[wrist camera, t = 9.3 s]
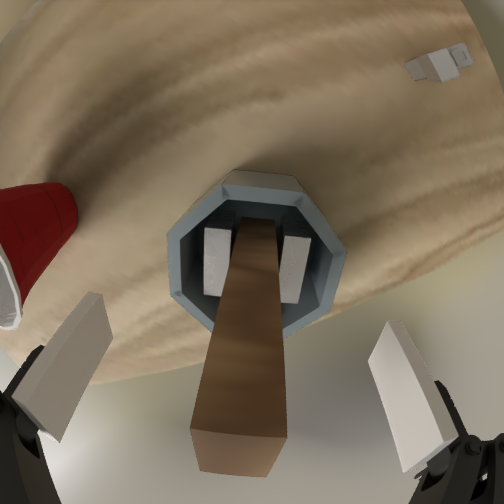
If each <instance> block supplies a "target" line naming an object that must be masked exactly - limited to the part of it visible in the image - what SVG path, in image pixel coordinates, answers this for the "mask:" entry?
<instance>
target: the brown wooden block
mask: <svg viewBox="0 0 504 504" xmlns="http://www.w3.org/2000/svg"><path fill="white" fill-rule="evenodd" d="M190 432H191V436H192V440H193V444H194V449H195V452H196V457H197V460H198V464H199V468H200V471H204V472H211V473H218V474H227V475H236V476H250V477H267V475H268V473H269V472H270V470H271V468H272V466H273V464H274V462H275V461H276V459H277V457H278V455H279V453H280V451H281V449H282V447H283V445H284V443H285V441H286V439H287V413H286V387H285V365H284V346H283V328H282V312H281V296H280V282H279V268H278V255H277V242H276V230H275V220H272V219H262V218H252V217H242V218H241V222H240V225H239V229H238V233H237V237H236V240H235V244H234V248H233V252H232V256H231V260H230V263H229V267H228V271H227V275H226V279H225V283H224V287H223V291H222V295H221V299H220V303H219V307H218V311H217V315H216V319H215V323H214V327H213V331H212V335H211V339H210V343H209V347H208V352H207V356H206V360H205V364H204V368H203V373H202V377H201V381H200V386H199V390H198V394H197V398H196V403H195V407H194V412H193V416H192V421H191V425H190Z"/></svg>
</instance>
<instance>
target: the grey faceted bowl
mask: <svg viewBox="0 0 504 504" xmlns="http://www.w3.org/2000/svg"><path fill="white" fill-rule="evenodd" d="M215 209H222V210H233V211H237V221H236V234H235V240H236V237H237V233H238V229H239V225H240V222H241V218H242V217H252V218H262V219H272V220H275V230H276V242H278V234H279V227H280V220H281V215H282V216H291V217H300V218H303V220H304V222H305V225H306V227H307V230H308V232H309V234H310V237H311V242H310V247H309V253H308V258H307V263H306V268H305V273H304V277H303V282H302V287H301V291H300V296H299V300H298V304H295V303H282V302H281V312H282V328H283V339H284V338H286V337H288V336H289V335H291V334H293V333H295V332H297V331H298V330H300V329H302V328H303V327H305V326H307V325H308V324H310V323H312V322H313V321H315V320H317V319H318V318H320V317H322V316H323V315H325V314H327V313H328V312H330V310H331V307H332V304H333V300H334V297H335V294H336V290H337V287H338V283H339V279H340V276H341V272H342V268H343V265H344V261H345V257H346V253H347V252H346V249H345V248H344V246H343V245H342V243H341V241H340V240H339V238H338V237H337V235H336V234H335V232H334V230H333V229H332V227H331V226H330V224H329V223H328V221H327V220H326V218H325V217H324V216H323V214H322V213H321V212H320V210H319V209H318V207H317V206H316V205H315V203H314V202H313V201H312V199H311V198H310V197H309V195H308V194H307V193H306V192H305V190H304V189H303V188H302V186H301V185H300V184H299V182H298V181H297V180H296V179H295V177H293V176H288V175H280V174H271V173H262V172H252V171H241V170H232V171H231V172H230V173H229V174H227V175H226V176H225V177H224V178H223V179H221V180H220V181H219V182H218V183H217V184H216V185H214V186H213V187H212V188H211V189H210V190H209V191H208V192H206V193H205V194H204V195H203V196H202V197H201V198H200V199H198V200H197V201H196V202H195V203H194V204H193V205H192V206H191V207H190V208H189V209H188V210H187V211H186V212H185V213H184V214H183V215H182V217H181V218H180V219H179V220H178V221H177V222H176V223H175V225H174V226H173V227H172V228H171V229H170V230H169V231H168V233H167V251H168V270H169V285H170V295H171V297H172V298H174V299H175V300H176V301H177V302H178V303H179V304H180V305H181V306H182V307H183V308H184V309H185V310H186V311H188V312H189V313H190V314H191V315H192V316H193V317H194V318H195V319H196V320H198V321H199V322H200V323H201V324H202V325H203V326H204V327H206V328H207V329H208V330H209V331H210V332H211V333H212V331H213V327H214V323H215V319H216V315H217V311H218V307H219V303H220V299H221V296H212V295H204V233H205V226H206V225H207V223H208V221H209V219H210V218H211V216H212V214H213V212H214V211H215ZM315 231H316V232H315ZM199 255H200V256H199ZM308 266H309V267H308Z"/></svg>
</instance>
